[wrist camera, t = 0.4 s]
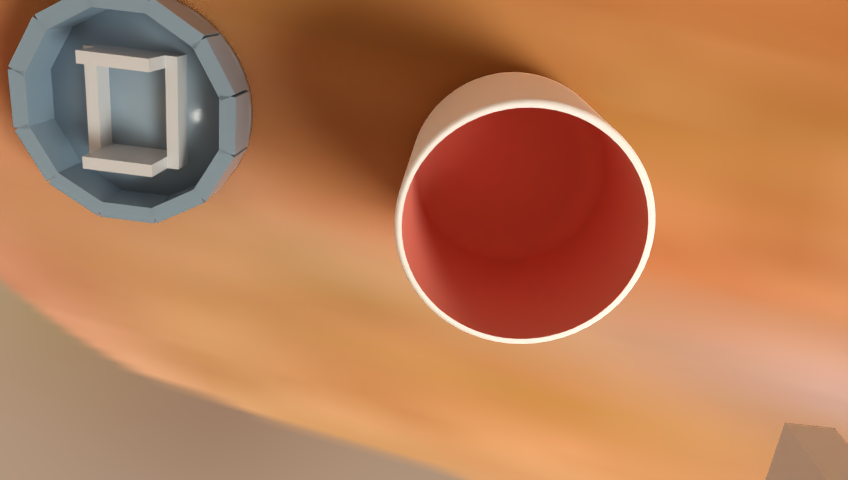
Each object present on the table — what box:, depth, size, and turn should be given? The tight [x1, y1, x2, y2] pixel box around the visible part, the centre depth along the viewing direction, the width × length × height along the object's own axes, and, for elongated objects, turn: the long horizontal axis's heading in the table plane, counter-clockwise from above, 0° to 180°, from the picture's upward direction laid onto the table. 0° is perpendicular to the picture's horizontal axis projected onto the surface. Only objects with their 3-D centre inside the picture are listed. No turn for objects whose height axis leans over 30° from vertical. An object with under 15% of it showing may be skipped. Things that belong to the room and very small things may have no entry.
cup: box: [394, 72, 655, 344], centre depth 31 cm, size 10×10×10 cm
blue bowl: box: [8, 0, 253, 223], centre depth 34 cm, size 11×11×4 cm
